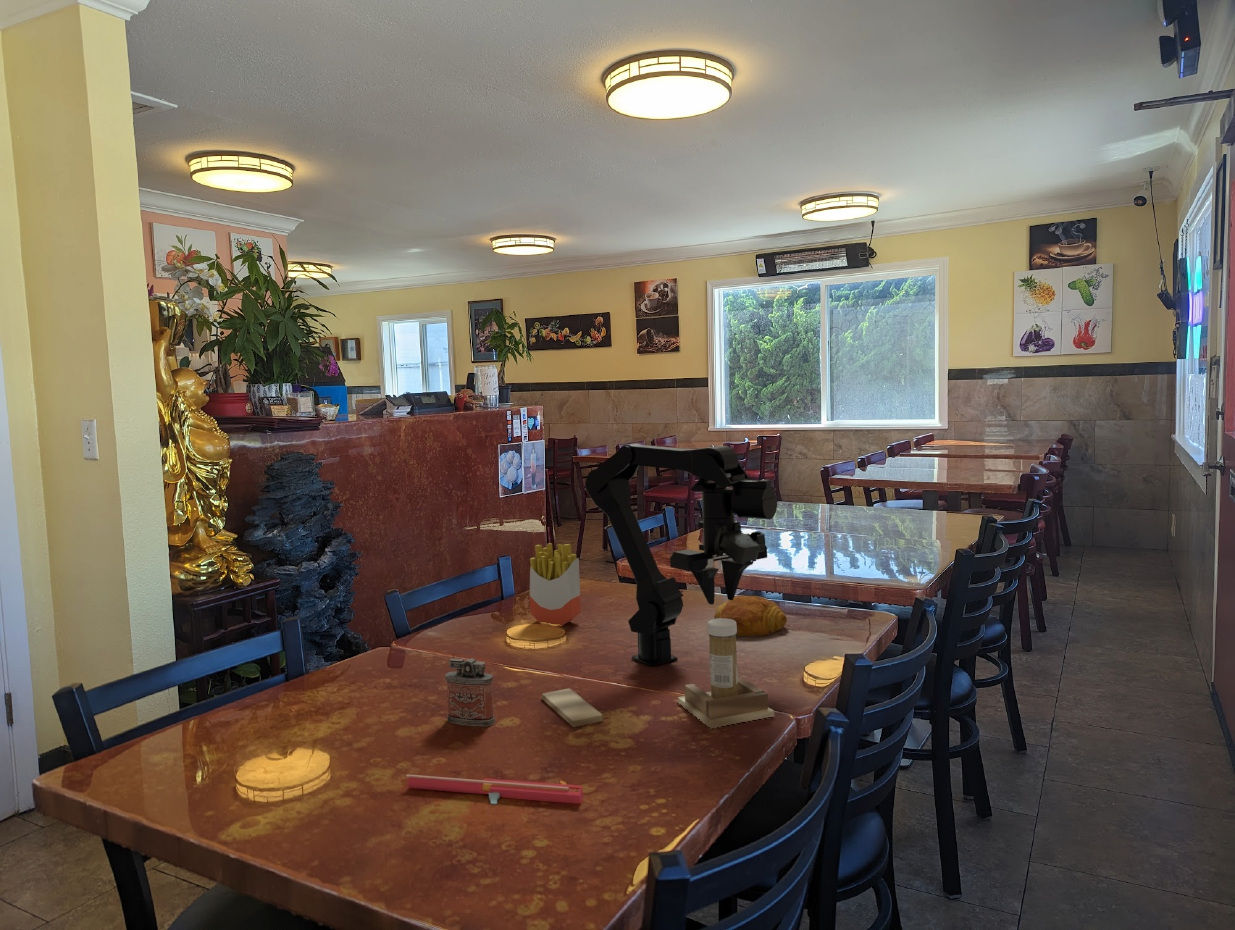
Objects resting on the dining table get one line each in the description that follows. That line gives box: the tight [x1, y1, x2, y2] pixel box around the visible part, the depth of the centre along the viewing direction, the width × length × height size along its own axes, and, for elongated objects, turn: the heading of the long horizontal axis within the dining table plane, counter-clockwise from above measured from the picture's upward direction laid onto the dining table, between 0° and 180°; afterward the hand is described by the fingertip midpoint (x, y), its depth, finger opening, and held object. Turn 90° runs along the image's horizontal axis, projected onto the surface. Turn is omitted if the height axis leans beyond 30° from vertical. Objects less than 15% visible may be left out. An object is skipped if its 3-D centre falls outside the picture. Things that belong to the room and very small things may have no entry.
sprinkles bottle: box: [707, 618, 739, 699], centre depth 133 cm, size 5×5×13 cm
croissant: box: [713, 594, 788, 637], centre depth 180 cm, size 14×16×8 cm
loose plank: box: [541, 688, 604, 728], centre depth 136 cm, size 14×5×2 cm, turn 25°
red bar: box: [405, 773, 584, 805], centre depth 107 cm, size 24×2×5 cm
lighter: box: [444, 657, 496, 727], centre depth 132 cm, size 8×3×10 cm, turn 71°
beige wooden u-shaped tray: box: [677, 675, 775, 730], centre depth 134 cm, size 12×11×4 cm
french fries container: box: [529, 542, 582, 626], centre depth 189 cm, size 5×11×18 cm, turn 64°
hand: (720, 602), depth 151 cm, fingers open, 4 cm apart
